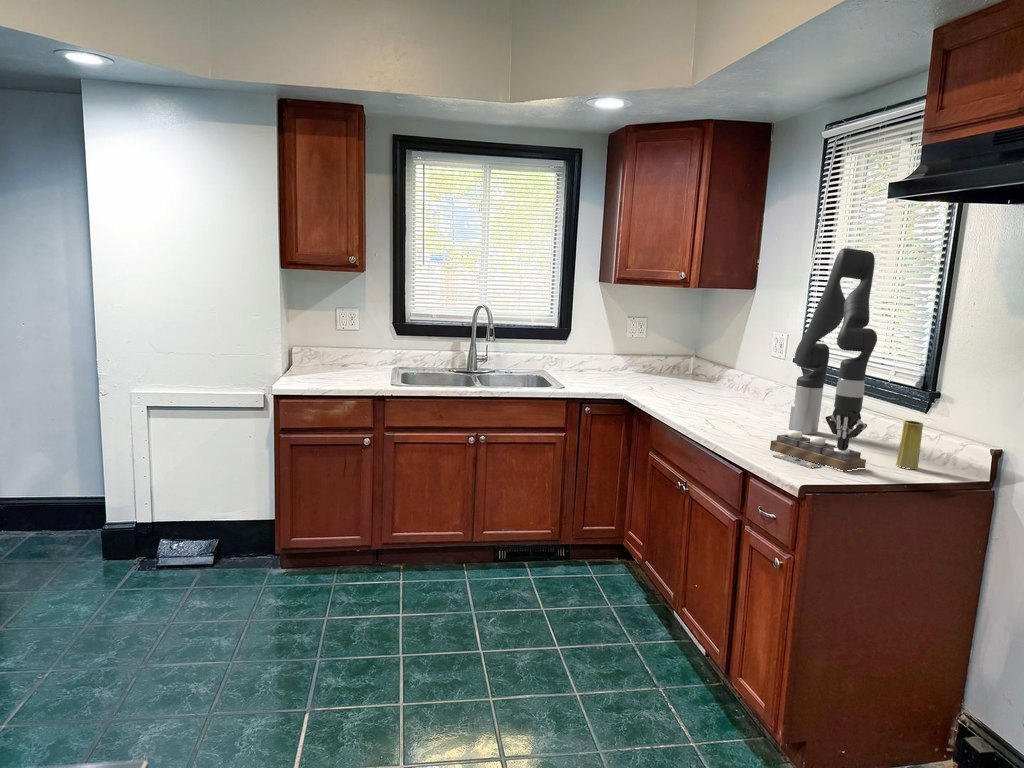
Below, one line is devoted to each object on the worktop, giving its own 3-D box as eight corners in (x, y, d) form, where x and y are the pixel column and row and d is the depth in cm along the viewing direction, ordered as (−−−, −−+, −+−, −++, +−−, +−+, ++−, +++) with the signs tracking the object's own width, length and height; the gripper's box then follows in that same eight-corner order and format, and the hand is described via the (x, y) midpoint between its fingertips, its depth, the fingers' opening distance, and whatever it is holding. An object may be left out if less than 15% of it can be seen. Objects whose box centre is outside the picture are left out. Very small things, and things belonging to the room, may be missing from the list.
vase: (910, 464, 218) (917, 420, 215) (922, 470, 211) (929, 425, 209) (891, 464, 217) (898, 419, 215) (903, 469, 211) (909, 424, 209)
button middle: (806, 443, 218) (807, 436, 218) (815, 441, 221) (816, 435, 220) (818, 446, 215) (819, 440, 214) (827, 445, 217) (828, 439, 217)
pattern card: (772, 456, 219) (772, 454, 219) (783, 455, 221) (783, 453, 221) (810, 468, 207) (811, 466, 207) (821, 466, 209) (821, 465, 209)
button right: (829, 454, 211) (830, 448, 211) (839, 453, 214) (839, 447, 213) (842, 458, 208) (843, 452, 207) (852, 457, 210) (852, 450, 210)
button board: (769, 449, 227) (771, 434, 227) (790, 447, 232) (791, 432, 232) (844, 472, 204) (846, 456, 204) (864, 469, 209) (867, 453, 209)
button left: (784, 436, 226) (785, 430, 225) (793, 435, 228) (794, 429, 228) (795, 439, 222) (796, 433, 222) (804, 438, 224) (805, 432, 224)
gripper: (877, 397, 204) (869, 454, 206) (837, 389, 215) (830, 443, 218) (862, 398, 200) (854, 456, 203) (822, 390, 211) (815, 445, 214)
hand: (842, 449), depth 210 cm, fingers closed
